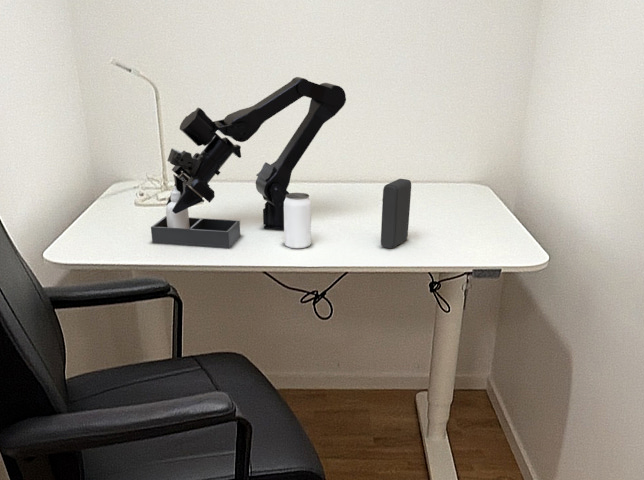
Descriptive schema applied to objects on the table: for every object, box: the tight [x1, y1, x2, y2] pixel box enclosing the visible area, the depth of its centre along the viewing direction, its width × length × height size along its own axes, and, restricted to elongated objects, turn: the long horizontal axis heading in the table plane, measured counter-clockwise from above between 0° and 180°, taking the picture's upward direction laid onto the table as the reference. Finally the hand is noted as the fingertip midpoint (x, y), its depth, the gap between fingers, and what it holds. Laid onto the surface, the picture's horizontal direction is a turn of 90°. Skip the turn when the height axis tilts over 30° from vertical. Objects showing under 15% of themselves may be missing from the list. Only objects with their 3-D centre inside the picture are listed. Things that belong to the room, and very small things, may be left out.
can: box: [283, 192, 312, 250], centre depth 178 cm, size 6×6×12 cm
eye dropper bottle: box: [165, 186, 190, 229], centre depth 181 cm, size 4×6×12 cm
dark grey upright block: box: [380, 178, 412, 249], centre depth 179 cm, size 9×4×15 cm, turn 150°
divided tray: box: [150, 215, 241, 249], centre depth 182 cm, size 10×19×4 cm, turn 80°
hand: (170, 209), depth 180 cm, fingers open, 5 cm apart
